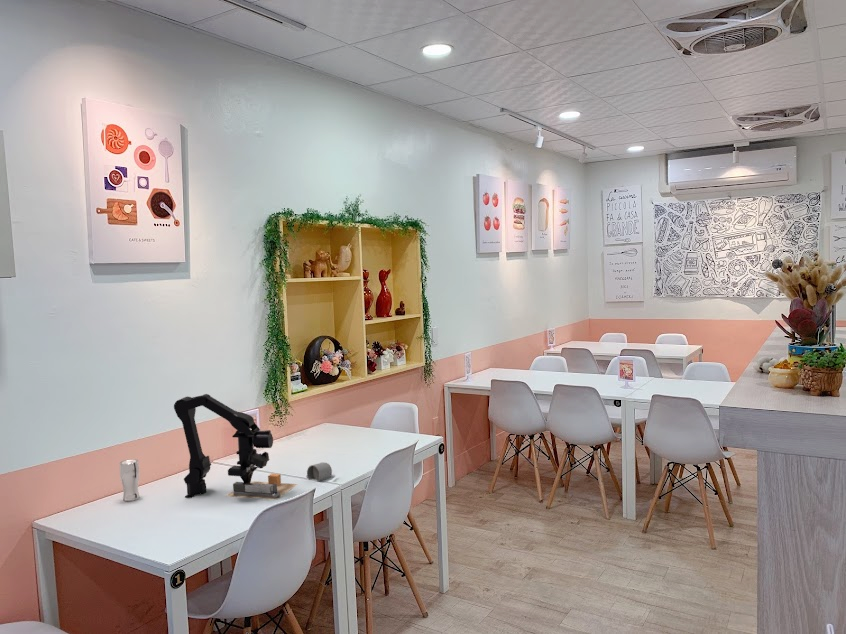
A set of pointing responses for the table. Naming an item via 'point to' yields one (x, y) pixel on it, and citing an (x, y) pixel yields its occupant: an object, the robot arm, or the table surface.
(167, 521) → the table surface
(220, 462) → the table surface
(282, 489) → the serving board
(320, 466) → the ceramic mug
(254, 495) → the tongs lower
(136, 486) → the beer glass
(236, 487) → the tongs upper
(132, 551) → the table surface
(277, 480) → the tan rectangular block
